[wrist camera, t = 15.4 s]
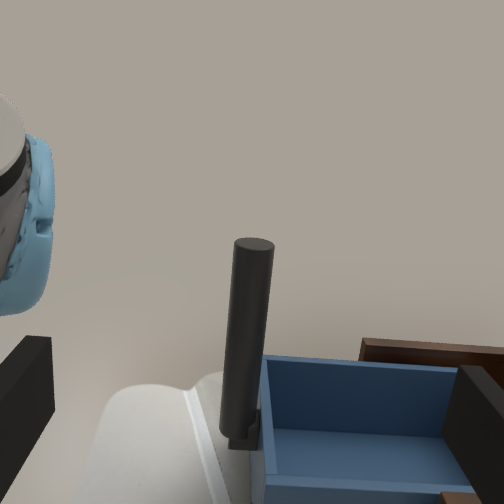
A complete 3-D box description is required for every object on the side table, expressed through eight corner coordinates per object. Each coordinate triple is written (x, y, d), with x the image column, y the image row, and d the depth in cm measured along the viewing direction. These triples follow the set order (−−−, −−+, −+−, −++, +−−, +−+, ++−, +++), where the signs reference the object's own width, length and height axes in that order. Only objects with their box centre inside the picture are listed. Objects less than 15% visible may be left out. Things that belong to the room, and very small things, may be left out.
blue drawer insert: (207, 580, 22) (232, 284, 17) (218, 426, 33) (235, 214, 28) (552, 595, 23) (666, 317, 18) (455, 440, 33) (511, 237, 29)
